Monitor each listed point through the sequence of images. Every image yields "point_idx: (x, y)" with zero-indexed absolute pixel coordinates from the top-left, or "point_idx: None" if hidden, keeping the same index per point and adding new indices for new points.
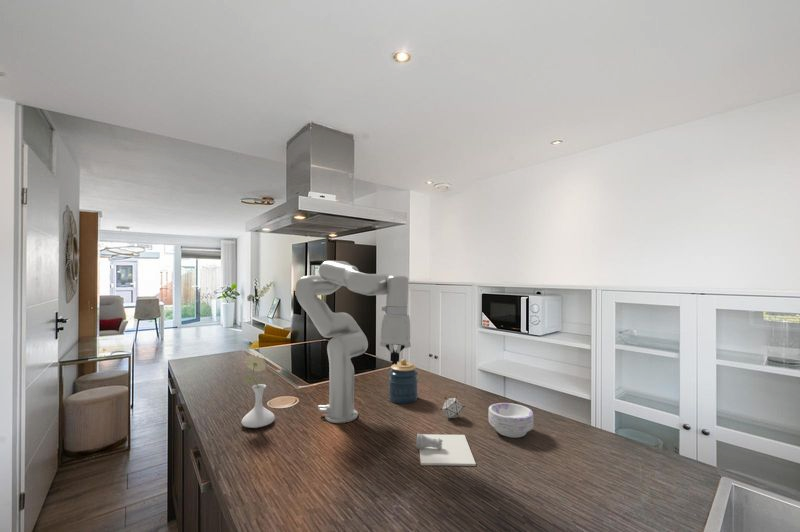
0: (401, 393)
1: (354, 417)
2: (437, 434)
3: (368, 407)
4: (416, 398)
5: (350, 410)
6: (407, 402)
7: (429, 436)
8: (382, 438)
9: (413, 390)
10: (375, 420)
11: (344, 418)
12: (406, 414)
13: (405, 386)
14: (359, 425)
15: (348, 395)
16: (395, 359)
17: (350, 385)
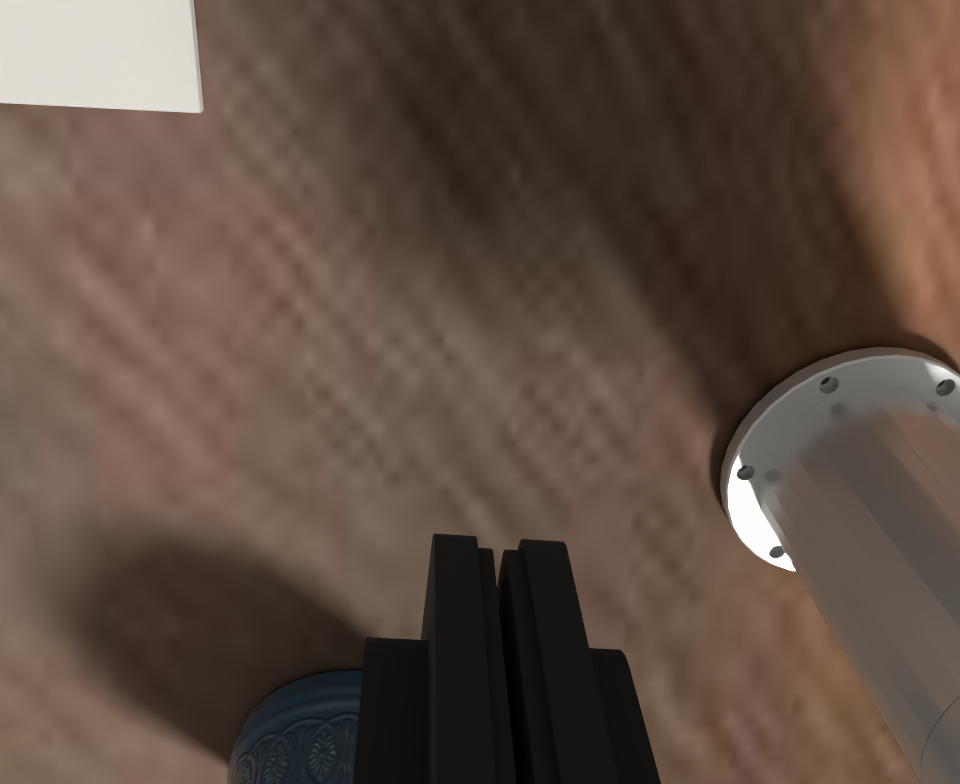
0: None
1: (759, 415)
2: (2, 101)
3: (623, 608)
4: (240, 733)
5: (815, 453)
6: (314, 679)
7: (80, 60)
8: (537, 69)
9: (253, 777)
10: (581, 404)
11: (844, 393)
12: (320, 507)
13: None
14: (719, 318)
15: (907, 526)
16: (479, 632)
17: (940, 609)
